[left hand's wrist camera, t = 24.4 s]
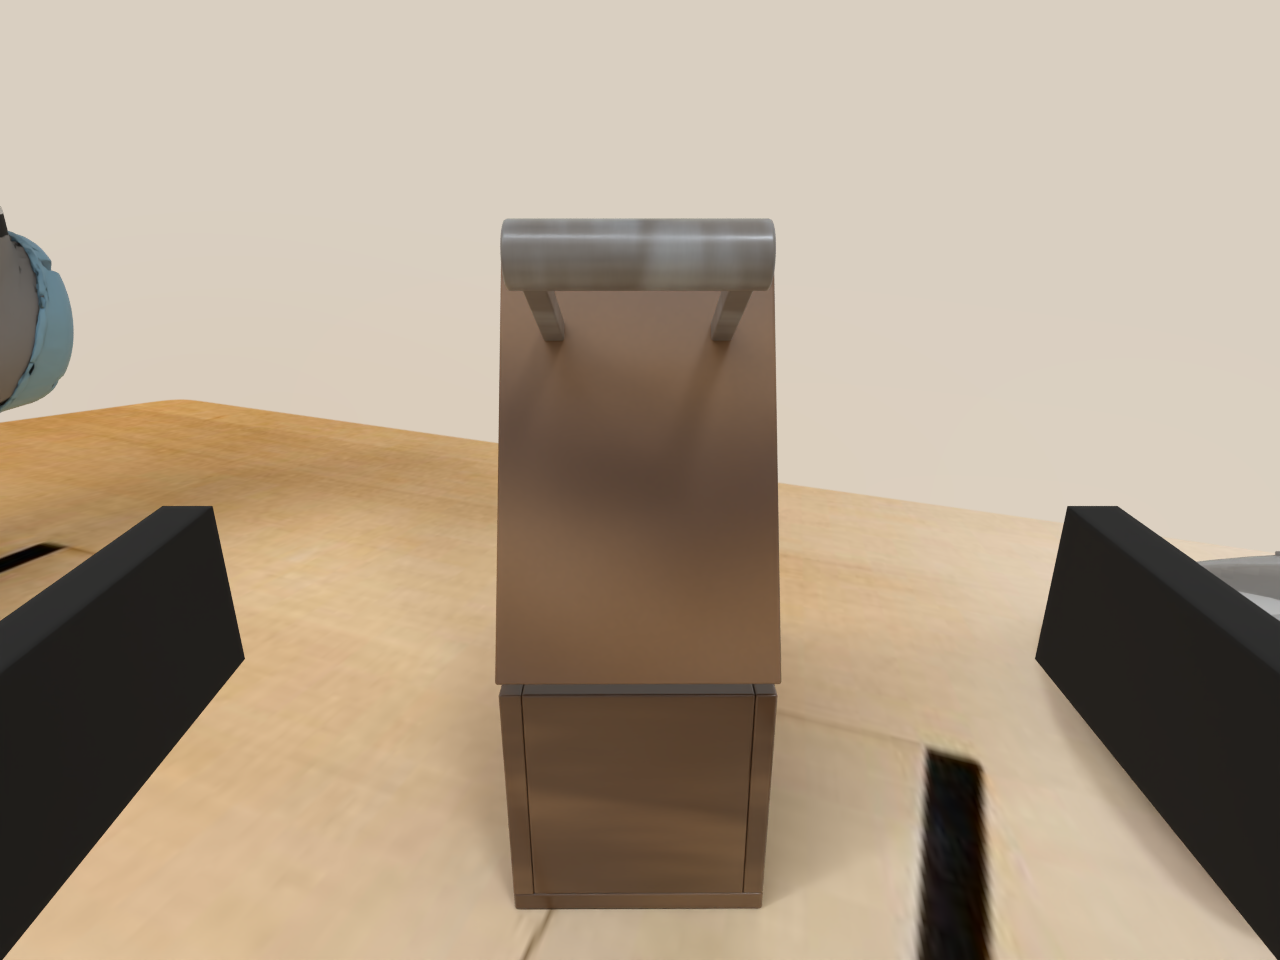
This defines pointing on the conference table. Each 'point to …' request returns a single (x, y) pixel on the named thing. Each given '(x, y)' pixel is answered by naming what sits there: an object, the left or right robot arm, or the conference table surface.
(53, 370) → the right robot arm
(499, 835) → the conference table surface
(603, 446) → the lid
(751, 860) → the chest
